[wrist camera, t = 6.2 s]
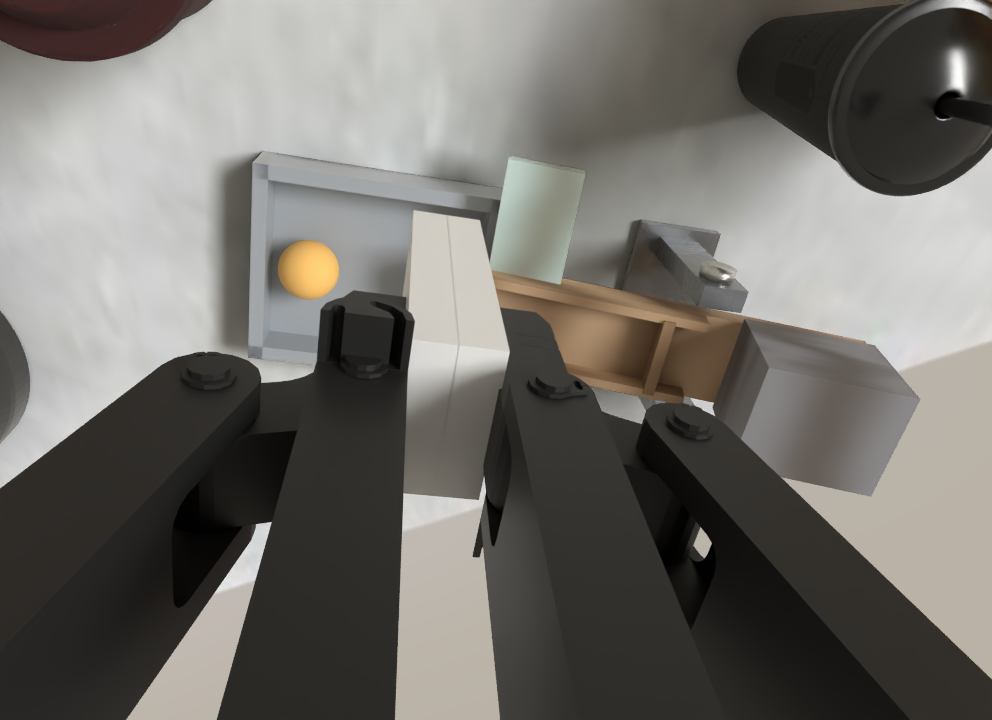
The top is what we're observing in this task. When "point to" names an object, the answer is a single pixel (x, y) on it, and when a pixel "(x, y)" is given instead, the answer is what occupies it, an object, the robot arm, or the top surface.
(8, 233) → the top surface
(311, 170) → the dish
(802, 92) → the drinking cup
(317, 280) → the ball
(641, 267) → the stand
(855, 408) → the lever
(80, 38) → the coffee cup
